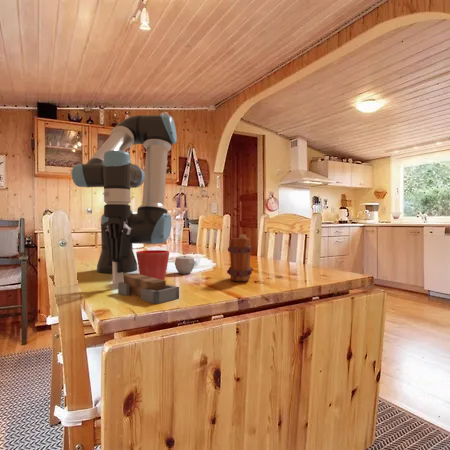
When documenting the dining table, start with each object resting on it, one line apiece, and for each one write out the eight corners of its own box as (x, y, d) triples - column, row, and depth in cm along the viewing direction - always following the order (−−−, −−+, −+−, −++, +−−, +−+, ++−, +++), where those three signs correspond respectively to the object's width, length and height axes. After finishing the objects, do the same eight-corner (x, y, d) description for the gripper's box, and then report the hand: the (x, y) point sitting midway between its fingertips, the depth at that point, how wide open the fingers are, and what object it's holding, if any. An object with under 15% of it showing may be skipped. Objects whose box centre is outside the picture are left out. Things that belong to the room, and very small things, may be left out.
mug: (250, 283, 106) (250, 236, 105) (225, 282, 107) (225, 236, 107) (255, 275, 120) (255, 233, 120) (233, 274, 122) (233, 233, 121)
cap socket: (141, 300, 86) (141, 288, 86) (164, 294, 92) (164, 283, 92) (155, 304, 82) (155, 292, 82) (179, 298, 88) (179, 287, 88)
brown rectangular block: (123, 292, 95) (123, 275, 95) (136, 290, 98) (136, 273, 98) (152, 302, 85) (152, 282, 85) (165, 299, 88) (165, 280, 87)
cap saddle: (118, 293, 93) (118, 282, 93) (141, 288, 99) (141, 278, 99) (126, 295, 91) (126, 284, 91) (149, 290, 96) (149, 280, 96)
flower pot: (157, 276, 119) (157, 248, 119) (175, 280, 112) (175, 251, 111) (130, 280, 112) (130, 251, 112) (148, 285, 104) (147, 254, 104)
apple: (178, 275, 120) (178, 257, 120) (171, 272, 127) (170, 255, 126) (199, 273, 124) (198, 256, 123) (190, 270, 131) (190, 254, 130)
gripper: (94, 204, 101) (95, 282, 101) (117, 203, 92) (118, 288, 93) (117, 204, 106) (117, 278, 107) (140, 203, 98) (141, 284, 98)
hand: (118, 283), depth 100 cm, fingers closed
